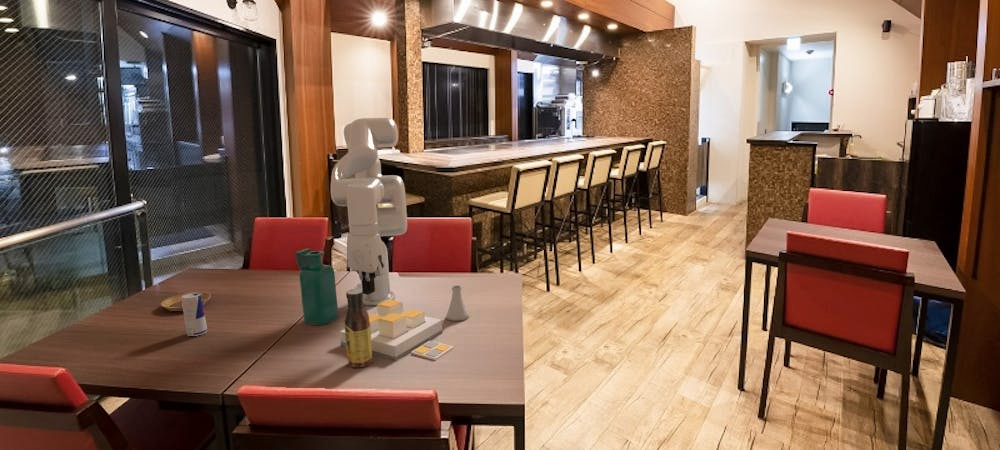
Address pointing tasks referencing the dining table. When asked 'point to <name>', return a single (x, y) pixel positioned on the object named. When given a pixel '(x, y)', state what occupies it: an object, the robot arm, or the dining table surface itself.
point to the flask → (457, 306)
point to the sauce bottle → (357, 330)
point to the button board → (403, 339)
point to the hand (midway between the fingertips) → (368, 292)
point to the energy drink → (194, 314)
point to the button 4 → (414, 318)
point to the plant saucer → (178, 298)
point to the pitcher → (317, 288)
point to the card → (432, 350)
